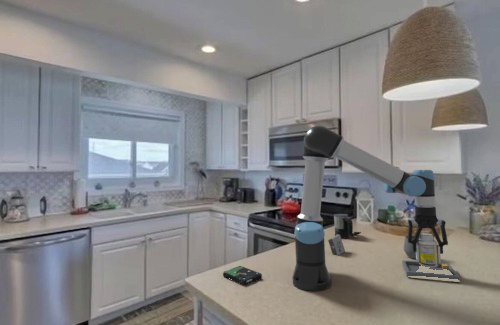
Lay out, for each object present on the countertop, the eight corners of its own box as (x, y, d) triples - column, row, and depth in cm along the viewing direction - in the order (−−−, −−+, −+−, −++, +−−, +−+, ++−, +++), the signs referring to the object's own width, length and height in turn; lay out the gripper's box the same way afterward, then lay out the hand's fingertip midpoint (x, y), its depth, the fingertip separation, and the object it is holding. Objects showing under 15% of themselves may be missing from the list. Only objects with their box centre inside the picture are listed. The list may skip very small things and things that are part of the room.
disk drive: (262, 280, 120) (240, 271, 131) (262, 273, 120) (240, 265, 131) (244, 287, 113) (222, 277, 124) (244, 280, 113) (222, 271, 124)
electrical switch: (338, 256, 146) (336, 238, 147) (329, 255, 149) (327, 237, 150) (345, 251, 153) (342, 234, 154) (336, 251, 157) (334, 234, 157)
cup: (404, 259, 137) (403, 238, 137) (403, 253, 145) (402, 234, 146) (427, 261, 133) (426, 240, 133) (424, 255, 141) (423, 235, 142)
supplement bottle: (427, 261, 122) (426, 232, 123) (442, 266, 116) (440, 235, 116) (414, 263, 121) (413, 233, 121) (429, 269, 114) (427, 237, 114)
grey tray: (407, 277, 114) (406, 271, 115) (402, 265, 128) (402, 260, 128) (460, 283, 108) (459, 276, 108) (449, 269, 122) (449, 264, 122)
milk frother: (331, 237, 185) (330, 214, 185) (344, 233, 196) (343, 211, 196) (351, 240, 174) (350, 217, 175) (363, 236, 185) (362, 213, 185)
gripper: (450, 205, 118) (453, 259, 118) (397, 204, 126) (400, 255, 125) (455, 207, 111) (459, 265, 111) (399, 206, 119) (402, 261, 118)
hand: (428, 260), depth 118 cm, fingers closed on supplement bottle, 7 cm apart
